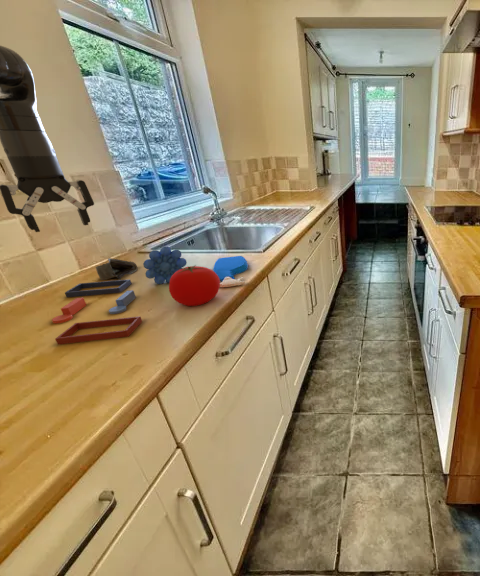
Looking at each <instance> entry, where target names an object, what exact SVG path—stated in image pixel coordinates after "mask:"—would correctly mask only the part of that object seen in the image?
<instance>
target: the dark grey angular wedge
mask: <svg viewBox="0 0 480 576" xmlns="http://www.w3.org/2000/svg"><path fill="white" fill-rule="evenodd" d="M107 260H108V262H106V263H103V264H100V265H97V266H95V270H96V274H97V275H98V277H99V279H100V281H108V280H110V279H113V278H117V279H118V280H121V279H122V278H123V277H124V276H125V275H132V274H134V273H135V272H137V271H138V269H139V268H138V265H137V263H136V262H134V261H131V260H129V261H128V260H124V259H117V258H111V257H108V258H107Z"/></svg>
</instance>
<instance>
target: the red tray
mask: <svg viewBox="0 0 480 576" xmlns="http://www.w3.org/2000/svg"><path fill="white" fill-rule="evenodd" d="M142 322H143V319H142V317H141V316H140V315H139V316H130V317H119V318H110V319H101V320H100V319H99V320H91V321H82V322H75V323H73V324H72V325H71V326H70V327H68V328H67V329H66V330H64V331H63V332H62V333H61V334H59V335H58V336H57V337H56V338H54V339H55V342H56V344H57V345H67V344H75V343H84V342H93V341H100V340H101V341H102V340H108V339H109V340H110V339H118V338H119V339H120V338H128V337H130V335H132V333H133V332H134V331H135V330H136V329H138V327H139V326H140V325H141V324H142ZM120 325H121V326H122V325H129V326H127V327H126V328H125V329H124V330H114V331H105V332H96V333H86V334H78V335H74V334H75V333H76V332H77V331H79V330H84V329H93V328H102V327H111V326H120Z"/></svg>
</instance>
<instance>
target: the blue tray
mask: <svg viewBox="0 0 480 576" xmlns="http://www.w3.org/2000/svg"><path fill="white" fill-rule="evenodd" d="M130 285H132V281H131V279H130V278H128V279H118V280H116V279H115V280H103V281H93V282H81V283H78V284H77V285H75V286H73V287H71V288H70V289H68V290H67V291H65V292H64V294H65V297H66V298H78V297H85V296H97V295H110V294H120V293H122V292H123V291H125V290H126V289H127V288H128V287H130ZM114 286H115V287H114ZM117 286H118V287H117ZM102 287H103V288H102ZM104 287H109V288H104ZM91 288H92V289H91ZM93 288H97V289H93ZM82 289H85V290H82ZM87 289H88V290H87Z"/></svg>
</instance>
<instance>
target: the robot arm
mask: <svg viewBox="0 0 480 576" xmlns="http://www.w3.org/2000/svg"><path fill="white" fill-rule="evenodd" d="M42 122H43V121H42V120H41V117H40V116H39V113H38V110H37V95H36V86H35V79H34V75H33V72H32V70H31V68H30V66H29V65H28V63H27V61H26V60H25V59H24V58H23V57H22V56H21V55H20V54H19V53H18V52H16V51H15V50H13V49H12V48H9V47H7V46H3V45H0V144H1V146H2V148H3V151H4V153H5V155H6V158H7V160H8V162H9V164H10V166H11V169H12V171H13V173H14V175H15V178H16V180H17V184H3V183H2V184H0V194H1V197H2V200H3V202H4V205H5V206H6V209H7V211H8V212H9V214H11V215H18V216H19V215H20V216H22V217H23V219H24V221H25V223H26V226H27V228H29V229H30V231H34V232H35V233H40V232H41V230H40V228H39V225H38V224H37V221H36V219H35V216H34V214H32V213H33V210H34V208H35V207H36V205H37V204H38V203H40V204H41V203H42V204H48V203H52V202H57V203H60V202H62V201H65V200H66V201H67V202H68V203H70V204H72V205H73V206H75V207H76V208H77V213H78V216H79V218H80V221H81V224H82V225H83V226H89V223H91V218H90V215H89V212H88V210H87V209H88V208H90V207H93V206H95V202H94V200H93V198H92V195H91V193H90V191H89V188H88V186H87V184H86V182H85V181H84V180H82V179H77V180H72V181H68V180H67V178H65V174H64V173H63V170H62V167H61V164H60V162H59V160H58V157H57V154H56V151H55V148H54V147H53V144H52V142H51V140H50V139H49V137H48V134H47V133H46V130H45V127H44V126H43V123H42ZM71 187H72V188H74V189H75V190H76V191H79V192H80V194H81V196H82V198H83V201H82V202H81V201H79V200H77V199H76V198H75V197H73V196H71V195H70V194H69V192H70V190H71ZM18 190H19V191H20V192H21V193H23V194H24V195H26V196H27V198H26V199H25V202H24V204H23V205H22V208H19V207H17V206H16V203H15V202H14V198H13V196H16V192H17V191H18Z"/></svg>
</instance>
